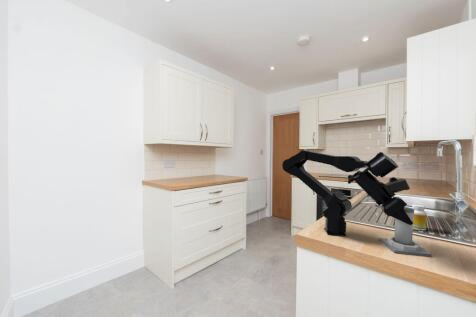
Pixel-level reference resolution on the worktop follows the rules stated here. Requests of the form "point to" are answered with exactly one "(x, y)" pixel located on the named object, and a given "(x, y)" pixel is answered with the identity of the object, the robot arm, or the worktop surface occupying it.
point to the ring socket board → (404, 247)
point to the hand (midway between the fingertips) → (409, 222)
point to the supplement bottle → (419, 217)
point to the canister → (404, 228)
